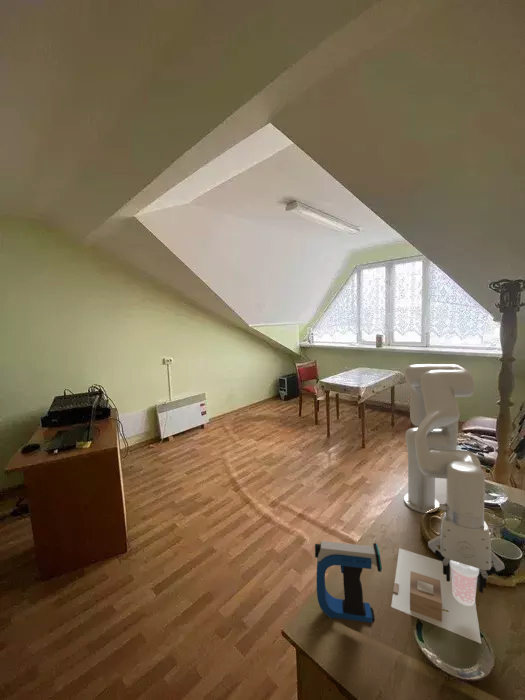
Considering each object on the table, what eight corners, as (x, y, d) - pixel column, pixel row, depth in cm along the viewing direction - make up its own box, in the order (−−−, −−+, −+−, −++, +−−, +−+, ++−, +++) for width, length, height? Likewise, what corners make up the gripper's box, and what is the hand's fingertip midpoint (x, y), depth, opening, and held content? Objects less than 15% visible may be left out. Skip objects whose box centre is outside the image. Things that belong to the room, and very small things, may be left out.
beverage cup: (445, 584, 77) (445, 534, 75) (472, 588, 75) (473, 537, 74) (453, 606, 71) (454, 552, 69) (483, 611, 69) (484, 556, 68)
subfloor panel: (390, 548, 97) (390, 544, 96) (481, 577, 85) (481, 572, 84) (380, 606, 78) (380, 601, 78) (495, 654, 66) (495, 647, 66)
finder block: (410, 587, 81) (410, 570, 81) (440, 597, 78) (440, 579, 78) (409, 609, 75) (409, 591, 75) (441, 621, 72) (441, 602, 71)
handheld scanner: (383, 630, 72) (382, 555, 70) (317, 620, 75) (314, 548, 74) (380, 612, 76) (378, 541, 75) (317, 603, 80) (314, 535, 78)
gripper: (423, 513, 72) (423, 580, 74) (514, 535, 63) (512, 611, 65) (424, 496, 78) (424, 559, 80) (506, 515, 70) (505, 584, 71)
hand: (463, 581), depth 73 cm, fingers closed on beverage cup, 6 cm apart
